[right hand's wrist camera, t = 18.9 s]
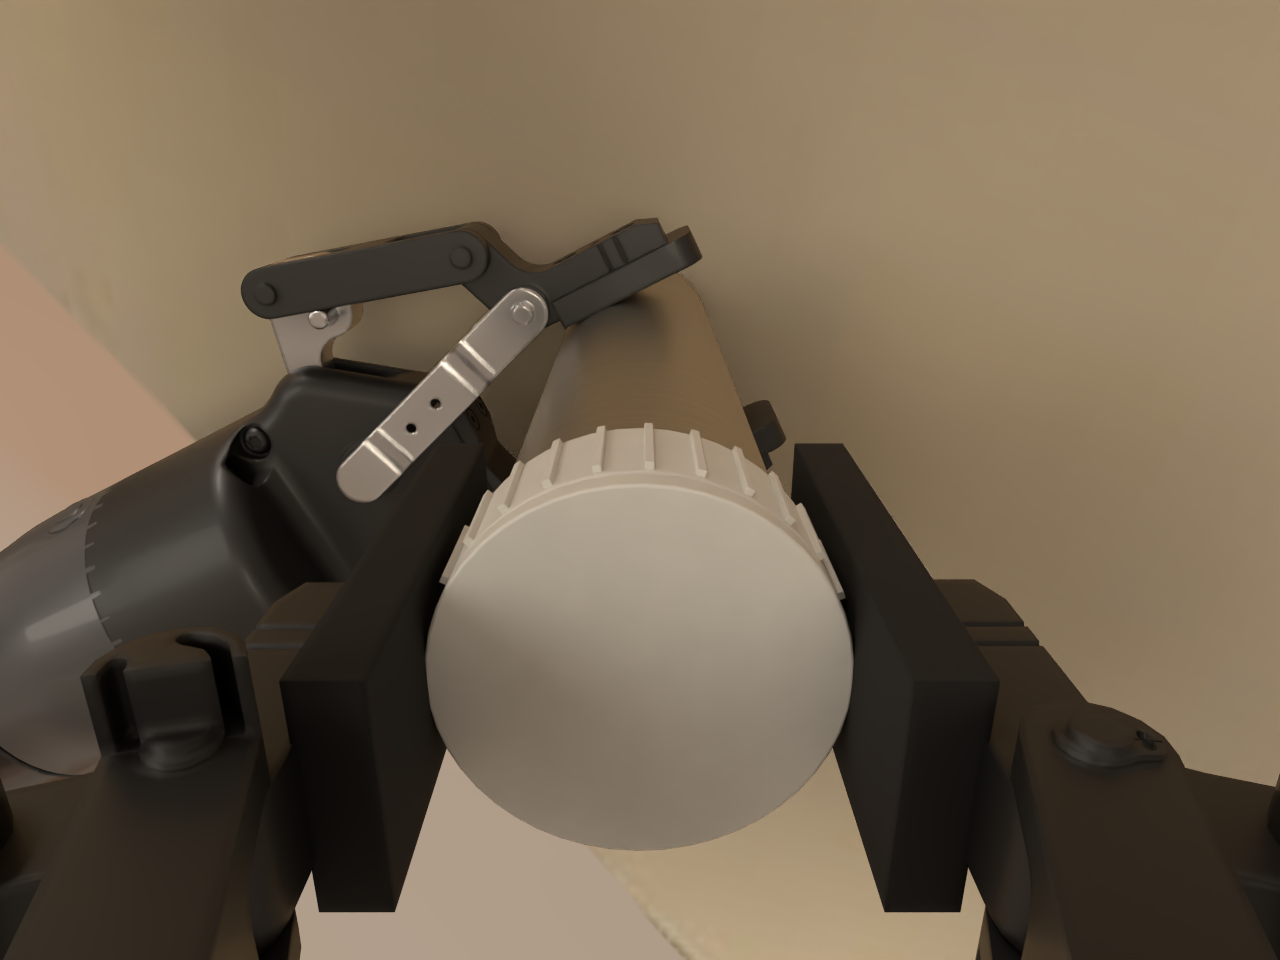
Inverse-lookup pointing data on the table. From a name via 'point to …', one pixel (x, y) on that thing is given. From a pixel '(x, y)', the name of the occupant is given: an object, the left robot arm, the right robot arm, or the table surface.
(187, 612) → the left robot arm
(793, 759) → the lid
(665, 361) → the tan tube
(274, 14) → the table surface
